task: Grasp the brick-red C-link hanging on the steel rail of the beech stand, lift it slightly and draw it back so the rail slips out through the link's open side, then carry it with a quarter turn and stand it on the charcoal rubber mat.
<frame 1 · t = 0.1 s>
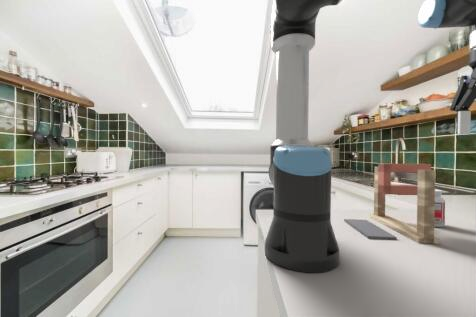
mat: (367, 229, 65), on the countertop
c link: (384, 193, 67), point 10 cm above the countertop, touching stand
pill bottle: (431, 225, 70), on the countertop
stand: (398, 228, 66), on the countertop
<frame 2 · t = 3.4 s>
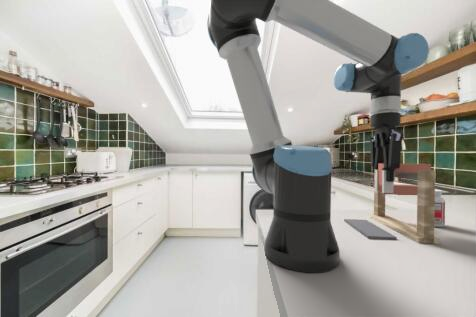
hand: (384, 191, 67), 11 cm above the countertop, fingers closed on c link, 3 cm apart
c link: (384, 193, 67), point 10 cm above the countertop, touching gripper, stand
everything else where it was.
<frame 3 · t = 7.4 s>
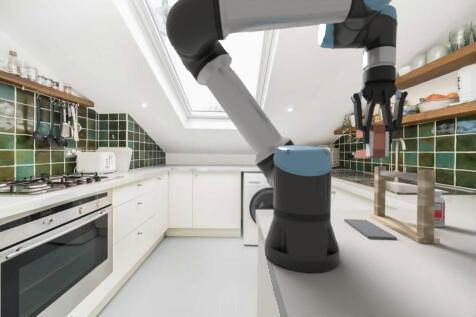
hand: (376, 156, 60), 21 cm above the countertop, fingers closed on c link, 3 cm apart
c link: (376, 158, 60), point 21 cm above the countertop, touching gripper
everything else where it was.
when the fingers open (2 cm above the countertop, at t = 11.4 s): c link stays where it is, resting on mat.
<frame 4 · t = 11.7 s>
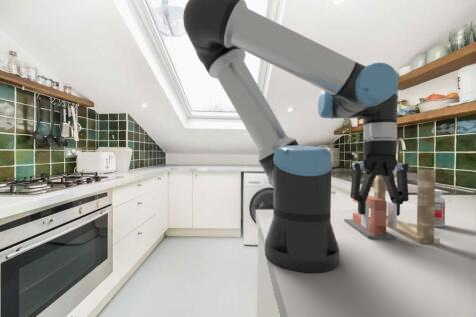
hand: (378, 226, 59), 3 cm above the countertop, fingers open, 6 cm apart
c link: (378, 234, 59), point 1 cm above the countertop, touching mat
everything else where it was.
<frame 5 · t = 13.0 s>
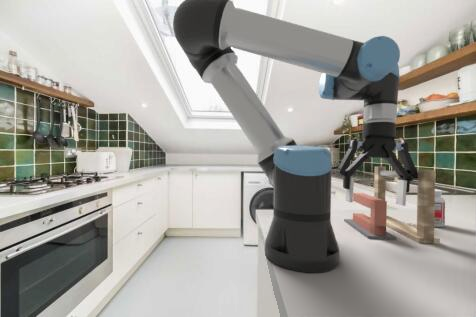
hand: (374, 203, 59), 9 cm above the countertop, fingers open, 12 cm apart
nothing on the countertop moved.
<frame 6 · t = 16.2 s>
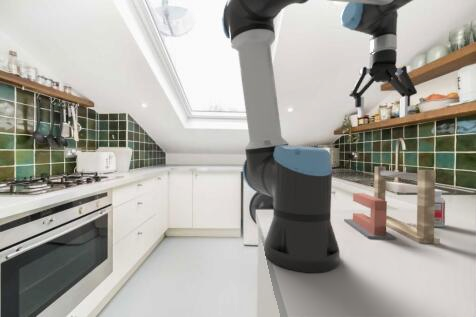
hand: (381, 117, 74), 35 cm above the countertop, fingers open, 13 cm apart
nothing on the countertop moved.
at the end: c link inside the target area on the mat (2.5 cm from its centre), point 0.6 cm above the mat's base; c link touching mat; the gripper is holding nothing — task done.
